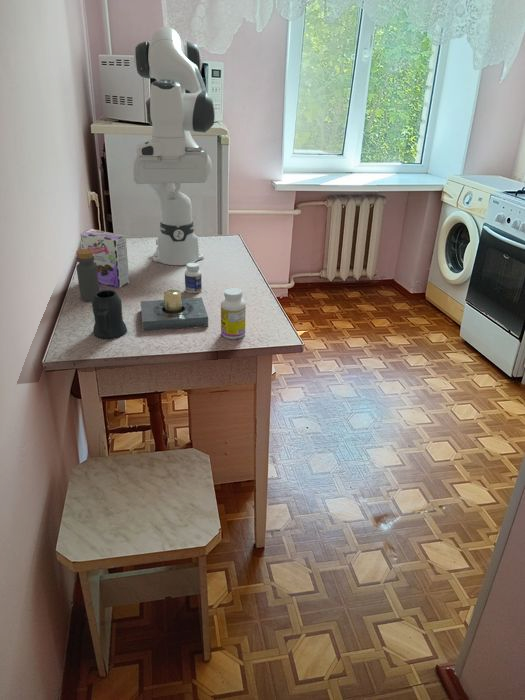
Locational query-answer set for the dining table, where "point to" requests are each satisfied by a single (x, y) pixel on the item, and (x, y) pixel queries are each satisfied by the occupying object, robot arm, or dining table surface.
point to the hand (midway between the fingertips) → (171, 199)
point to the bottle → (87, 275)
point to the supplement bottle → (233, 314)
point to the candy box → (108, 256)
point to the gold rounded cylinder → (172, 301)
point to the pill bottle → (193, 278)
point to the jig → (173, 315)
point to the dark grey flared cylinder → (108, 315)
